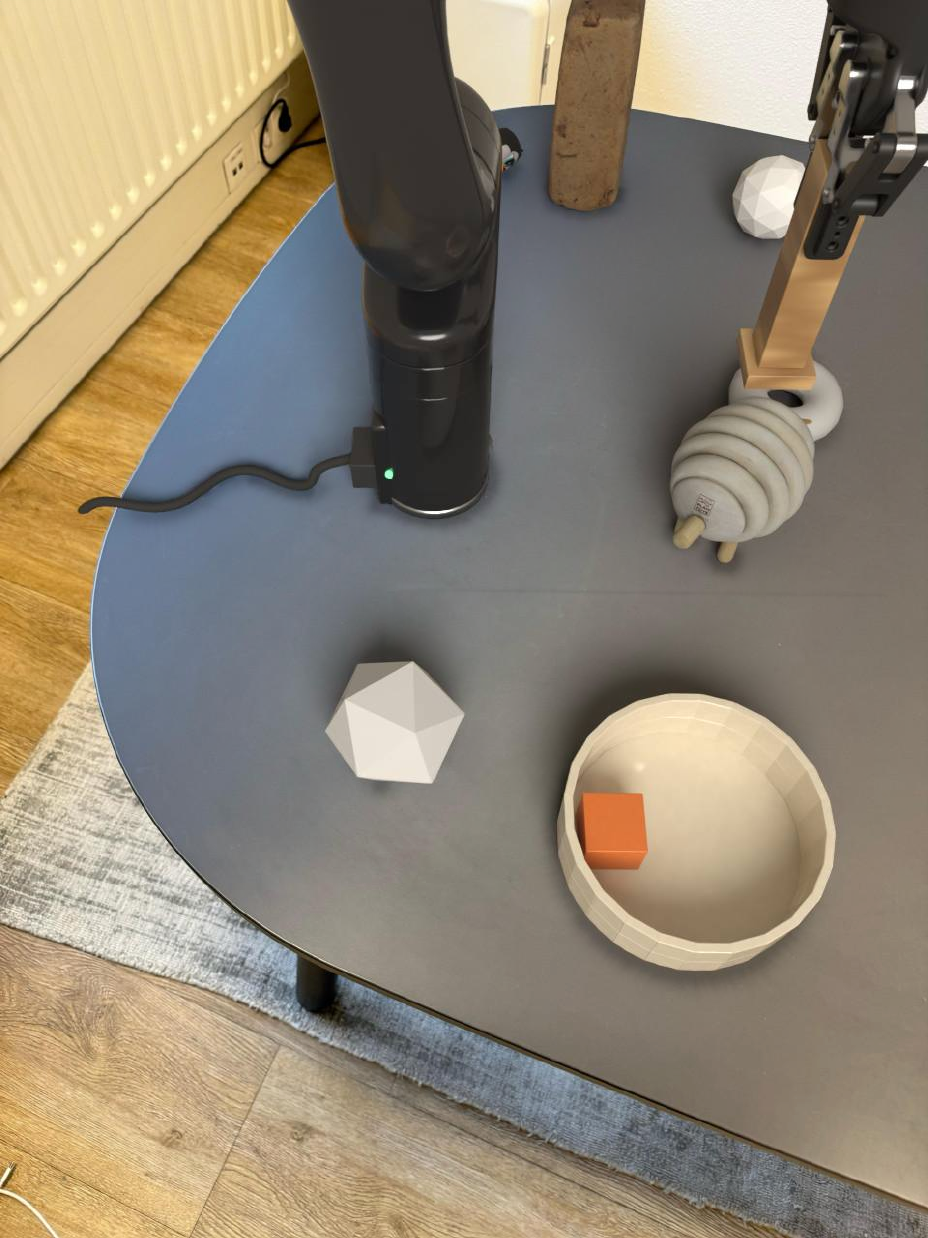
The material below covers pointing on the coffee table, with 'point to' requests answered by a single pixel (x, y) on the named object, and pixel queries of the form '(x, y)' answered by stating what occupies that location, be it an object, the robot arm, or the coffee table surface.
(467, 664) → the coffee table surface
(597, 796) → the orange block
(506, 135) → the puffin
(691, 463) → the toy sheep
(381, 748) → the die
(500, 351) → the coffee table surface
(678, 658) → the coffee table surface
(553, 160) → the block
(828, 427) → the donut
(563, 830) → the bowl
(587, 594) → the coffee table surface
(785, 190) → the geometric ball
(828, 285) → the wooden pillar
